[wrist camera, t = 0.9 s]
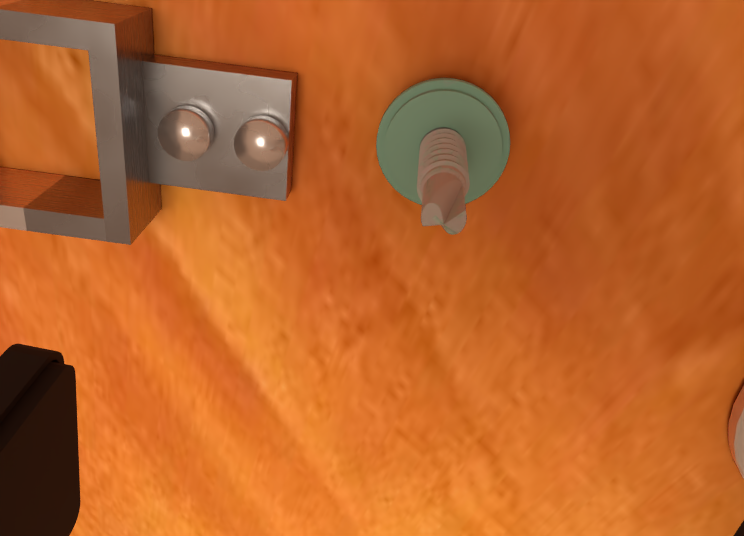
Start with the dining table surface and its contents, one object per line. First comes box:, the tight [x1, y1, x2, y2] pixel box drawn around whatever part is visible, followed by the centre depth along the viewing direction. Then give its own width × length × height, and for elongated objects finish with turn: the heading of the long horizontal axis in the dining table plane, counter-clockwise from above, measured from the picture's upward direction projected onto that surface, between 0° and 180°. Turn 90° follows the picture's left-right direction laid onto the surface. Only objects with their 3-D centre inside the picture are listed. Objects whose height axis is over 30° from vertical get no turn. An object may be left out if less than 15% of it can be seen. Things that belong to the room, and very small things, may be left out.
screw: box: [376, 78, 510, 234], centre depth 24 cm, size 9×5×5 cm
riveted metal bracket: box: [0, 0, 297, 245], centre depth 27 cm, size 20×8×4 cm, turn 84°
